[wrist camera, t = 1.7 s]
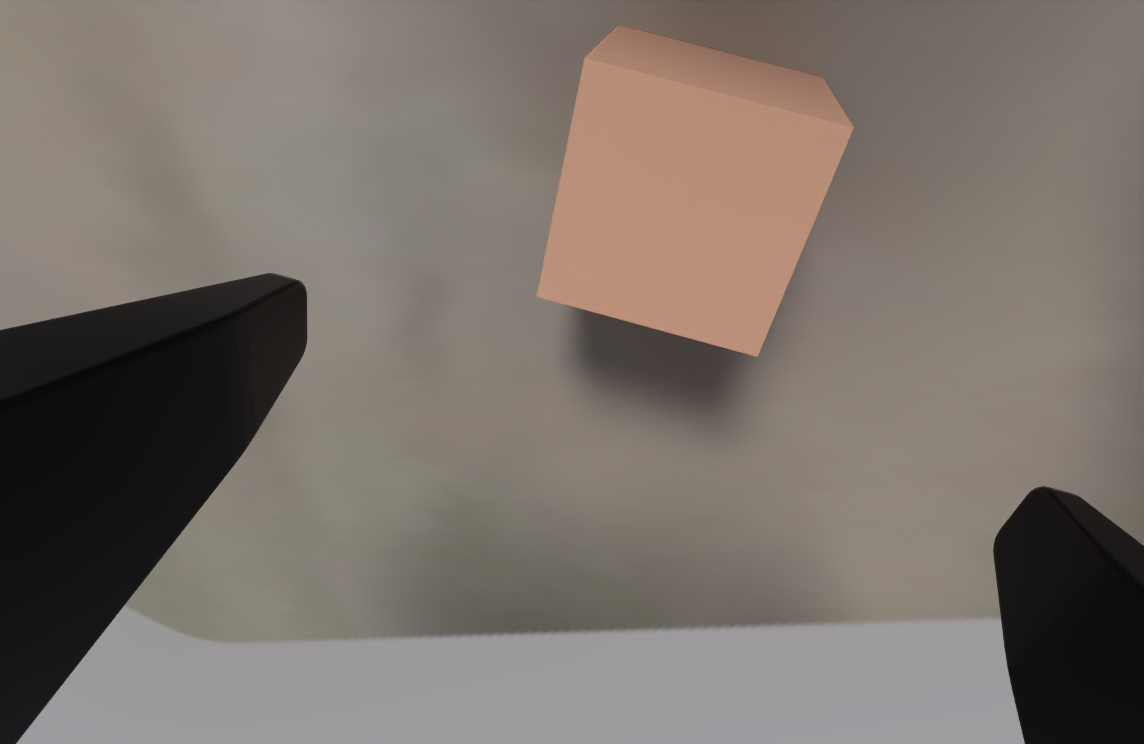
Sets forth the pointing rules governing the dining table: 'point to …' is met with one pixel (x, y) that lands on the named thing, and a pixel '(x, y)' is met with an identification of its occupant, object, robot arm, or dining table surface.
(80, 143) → the dining table surface
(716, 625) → the dining table surface
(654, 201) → the terracotta cube
